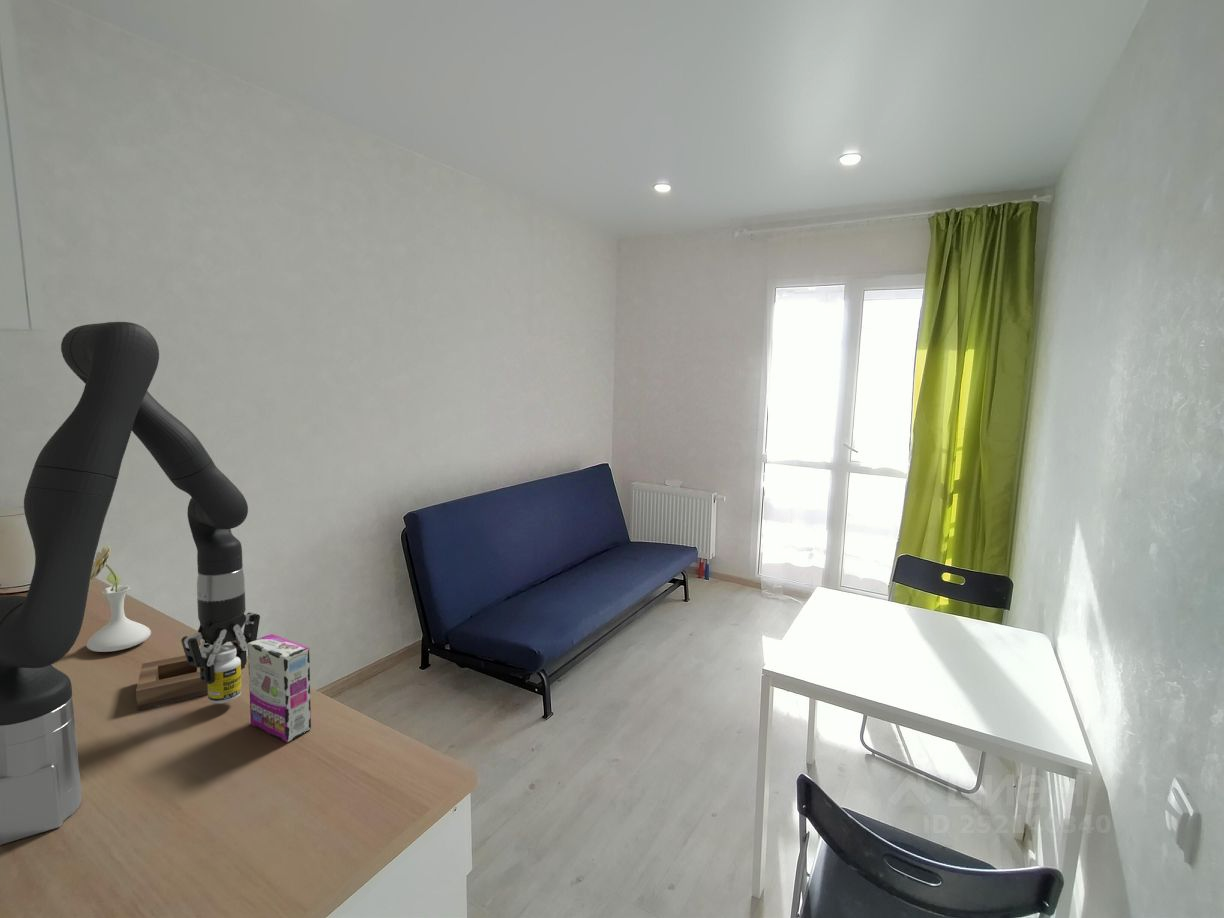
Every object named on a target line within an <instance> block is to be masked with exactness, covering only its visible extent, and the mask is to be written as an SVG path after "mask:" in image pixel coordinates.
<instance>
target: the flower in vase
mask: <svg viewBox="0 0 1224 918" xmlns="http://www.w3.org/2000/svg"><path fill="white" fill-rule="evenodd" d="M110 556H111V547H110V545H108V546H107V547H106V545H104V546H103V547H102V549H101V551H96V554H95V558H94V562H93V566H92V571H91V577H90V581H91V580H95V578H96V577H98V576H99V574H100V573H101V572H102V570H103V569H104V568H105V567H107V569H108V570H109V571H110V573H108V575H107V577H106V581H107V582H109V584H112V585H111V586H109V587H105V588H103V589H102V590H101V591H100V592H101V594H103V595H104V596H105V597H106V598H107V600H108V603H109V605H110V620H109V621H108V623H106V624H105V625H104V626H103V627H101V628H100V629H98V631H96V632H95V633H93V635H91V637H90V638H89V639H88V640H87V642H86V648H87V649H88V650H90V651H92V652H99V653H101V652H102V653H108V652H117V651H121V650H122V651H123V650H126V649H130V648H133V647H135V646H137V645H139V644H142V643H144V642H145V641H147V639H149V638H150V636H151V634H152V631H151V629H150V628H149V627H148V626H146V625H144V624H143V623H140V622H137V621H135V620H131V619H129V618H127V617H126V614H125V605H124V603H125V598H126V594H127V592H128V591H129V590H130V589H131V586H130V585H128V584H127V585H126V584H125V585H124V584H120V583H121V582H122V578H121V577H120V576H119V575H117V574H116V573H115V572H114V570H113V569H112V568H111V566H110V565H109V564H108V563H107V562H108V561H109V559H110ZM119 584H120V585H119Z"/></svg>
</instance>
